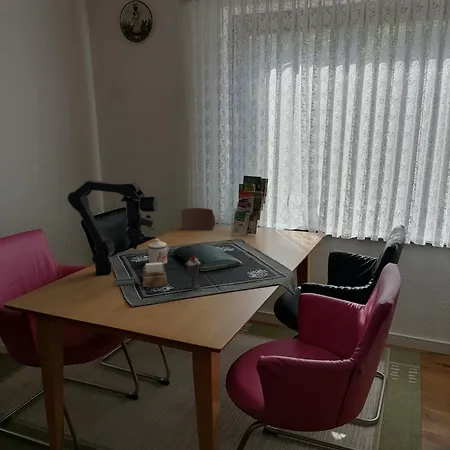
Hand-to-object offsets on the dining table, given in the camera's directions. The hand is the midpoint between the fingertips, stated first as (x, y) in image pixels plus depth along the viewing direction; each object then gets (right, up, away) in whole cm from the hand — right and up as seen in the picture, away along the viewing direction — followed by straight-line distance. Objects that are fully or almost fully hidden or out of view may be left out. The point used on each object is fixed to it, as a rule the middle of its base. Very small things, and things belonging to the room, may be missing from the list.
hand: (135, 246), depth 188 cm
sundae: (+27, -16, -13) cm, 34 cm away
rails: (-3, -15, -7) cm, 17 cm away
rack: (+9, -14, -5) cm, 18 cm away
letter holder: (+23, +7, +84) cm, 88 cm away
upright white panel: (+9, -13, -5) cm, 17 cm away
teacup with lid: (+8, -9, +20) cm, 23 cm away
